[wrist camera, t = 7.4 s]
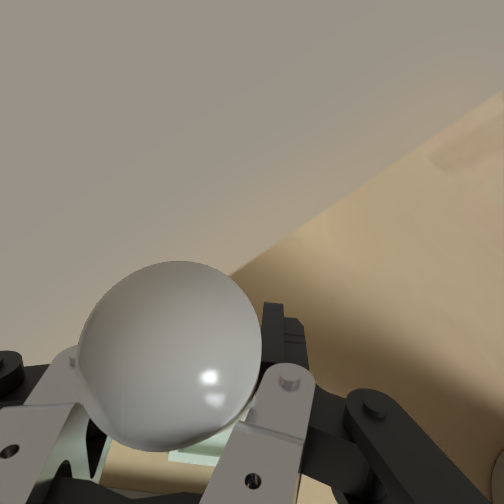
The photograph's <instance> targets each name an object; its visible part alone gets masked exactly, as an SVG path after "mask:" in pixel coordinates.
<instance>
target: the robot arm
mask: <svg viewBox="0 0 504 504" xmlns="http://www.w3.org/2000/svg"><path fill="white" fill-rule="evenodd" d="M261 340H262V347H261V364H260V371H259V378H258V383H257V387H256V394H255V397H254V400H253V402H252V404H251V407H250V409H249V412H248V414H247V416H246V419H245V421H240V420H238V421H237V422H236V424H235V426H234V428H233V430H232V432H231V434H230V436H229V439H228V441H227V443H226V445H225V447H224V450H223V452H222V454H221V456H220V458H219V461H218V463H217V465H216V467H215V469H214V472H213V474H212V476H211V478H210V480H209V483H208V485H207V487H206V489H205V492H204V494H196V493H188V492H181V493H174V494H167V495H159V496H152V497H145V498H137V499H132V498H128V497H125V496H123V495H121V494H119V493H117V492H114V491H112V490H110V489H108V488H106V487H104V486H101V485H99V480H100V477H101V474H102V471H103V467H104V464H105V461H106V457H107V454H108V451H109V447H110V444H111V441H112V438H110V437H109V436H108V435H106V434H105V433H104V432H103V431H101V430H100V429H99V428H98V426H97V425H96V424H95V423H94V422H93V421H92V419H91V418H90V416H89V415H88V413H87V411H86V410H85V408H84V406H83V403H82V401H81V399H80V396H79V392H78V388H77V383H76V375H75V359H76V352H77V346H78V345H75V346H73V347H70V348H67V349H66V350H64V351H62V352H61V353H59V354H58V355H57V356H56V357H55V358H54V360H53V361H52V363H51V364H46V365H36V366H26V367H24V366H23V361H22V356H21V355H20V354H19V353H17V352H14V351H0V504H297V500H298V494H299V489H300V483H301V478H302V474H304V475H306V476H308V477H311V478H313V479H315V480H317V481H319V482H322V483H324V484H326V485H328V486H331V489H332V492H333V495H334V497H335V499H336V501H337V503H338V504H491V503H490V502H489V501H488V500H487V499H486V498H485V497H484V495H483V494H482V493H481V492H480V491H479V490H478V489H477V488H476V487H475V486H474V485H473V484H472V483H471V481H470V480H469V479H468V478H467V477H466V476H465V475H464V474H463V473H462V472H461V471H460V470H459V469H458V468H457V466H456V465H455V464H454V463H453V462H452V461H451V460H450V459H449V458H448V457H447V456H446V455H445V454H444V452H443V451H442V450H441V449H440V448H439V447H438V446H437V445H436V444H435V443H434V442H433V441H432V440H431V438H430V437H429V436H428V435H427V434H426V433H425V432H424V431H423V430H422V429H421V428H420V427H419V426H418V425H417V423H416V422H415V421H414V420H413V419H412V418H411V417H410V416H409V415H408V414H407V413H406V412H405V411H404V409H403V408H402V407H401V406H400V405H399V404H398V403H397V402H396V401H395V400H393V399H392V398H391V397H389V396H388V395H386V394H384V393H382V392H379V391H376V390H372V389H357V390H354V391H352V392H350V393H349V394H348V396H347V398H346V399H345V398H342V397H339V396H336V395H333V394H331V393H328V392H327V391H325V390H323V389H322V388H320V387H319V386H318V385H317V384H316V383H315V379H314V377H313V375H312V374H311V373H310V372H309V365H308V357H307V350H306V342H305V334H304V327H303V325H302V324H301V323H300V322H299V321H298V319H297V318H286V317H284V311H283V304H278V303H267V302H264V307H263V317H262V327H261ZM491 491H492V501H493V504H504V450H503V452H502V453H501V455H500V456H499V458H498V459H497V461H496V464H495V467H494V470H493V473H492V483H491Z"/></svg>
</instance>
